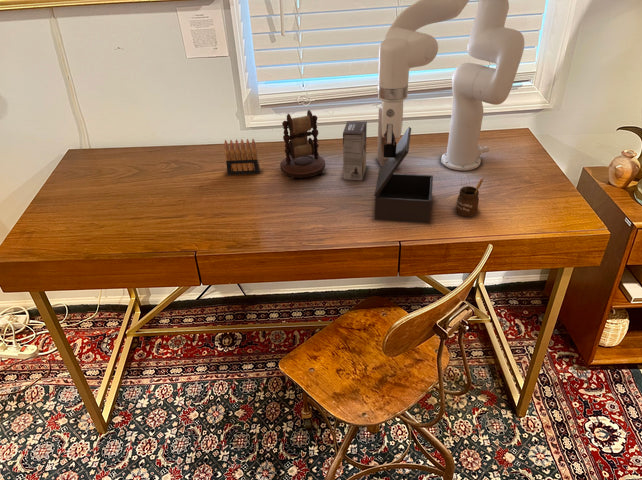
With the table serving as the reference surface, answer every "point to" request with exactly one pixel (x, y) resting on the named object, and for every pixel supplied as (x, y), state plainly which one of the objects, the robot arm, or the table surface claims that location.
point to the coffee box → (354, 150)
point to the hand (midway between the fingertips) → (389, 156)
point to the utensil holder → (468, 200)
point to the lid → (393, 162)
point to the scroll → (301, 147)
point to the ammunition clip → (237, 160)
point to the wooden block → (380, 141)
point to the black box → (405, 199)
